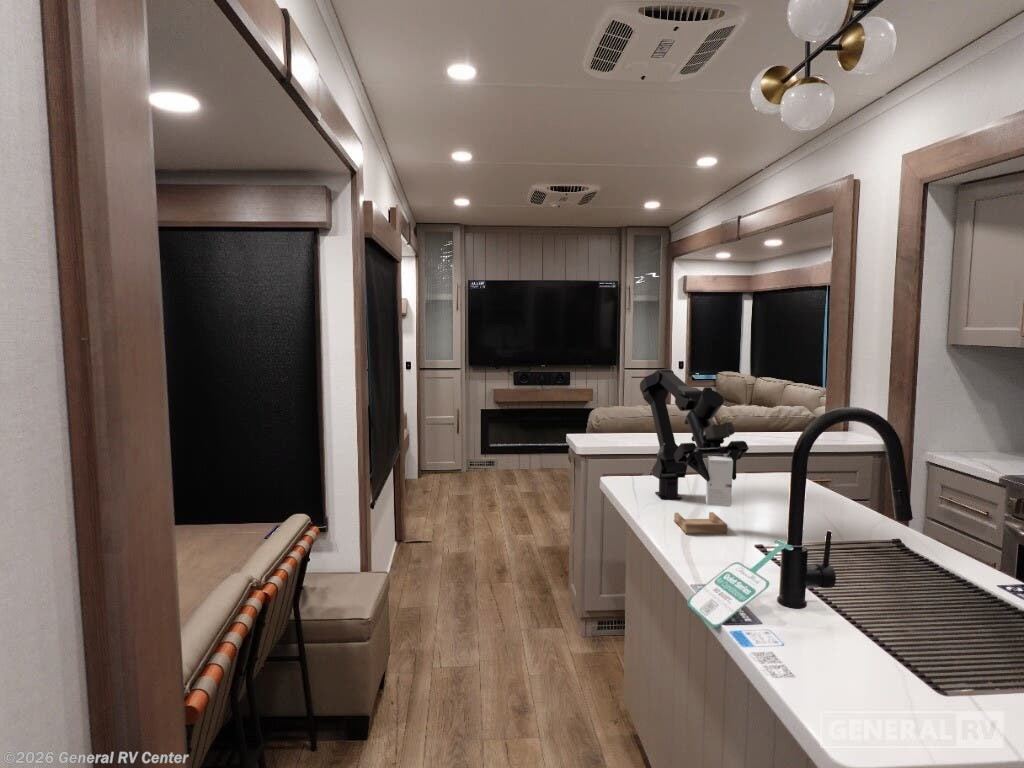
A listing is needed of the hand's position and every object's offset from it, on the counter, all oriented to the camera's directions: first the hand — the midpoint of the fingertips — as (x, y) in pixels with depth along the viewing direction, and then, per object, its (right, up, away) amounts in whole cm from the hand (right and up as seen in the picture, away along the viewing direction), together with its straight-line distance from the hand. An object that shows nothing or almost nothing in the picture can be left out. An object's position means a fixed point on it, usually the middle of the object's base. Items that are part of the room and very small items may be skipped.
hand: (721, 479), depth 151 cm
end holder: (-5, -13, +3) cm, 14 cm away
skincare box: (0, -7, +2) cm, 7 cm away
